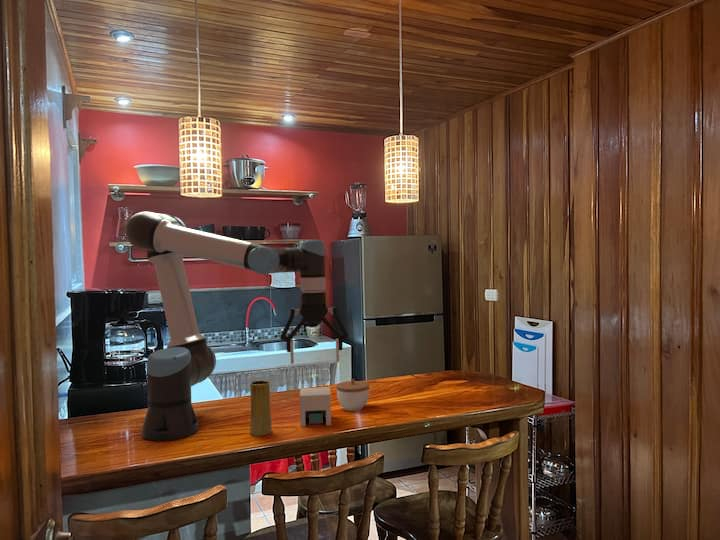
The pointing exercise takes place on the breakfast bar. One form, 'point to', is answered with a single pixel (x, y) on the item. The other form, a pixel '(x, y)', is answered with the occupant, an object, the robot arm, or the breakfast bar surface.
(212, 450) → the breakfast bar surface
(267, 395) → the vase
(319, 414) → the teal block
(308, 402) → the notched white block
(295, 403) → the breakfast bar surface
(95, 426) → the breakfast bar surface
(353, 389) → the lidded jar
